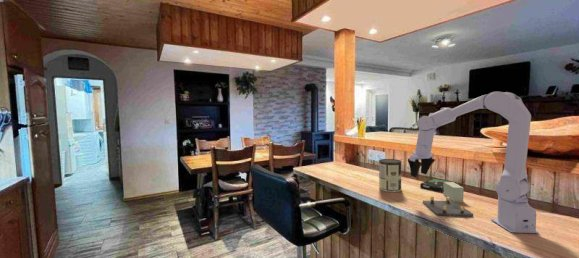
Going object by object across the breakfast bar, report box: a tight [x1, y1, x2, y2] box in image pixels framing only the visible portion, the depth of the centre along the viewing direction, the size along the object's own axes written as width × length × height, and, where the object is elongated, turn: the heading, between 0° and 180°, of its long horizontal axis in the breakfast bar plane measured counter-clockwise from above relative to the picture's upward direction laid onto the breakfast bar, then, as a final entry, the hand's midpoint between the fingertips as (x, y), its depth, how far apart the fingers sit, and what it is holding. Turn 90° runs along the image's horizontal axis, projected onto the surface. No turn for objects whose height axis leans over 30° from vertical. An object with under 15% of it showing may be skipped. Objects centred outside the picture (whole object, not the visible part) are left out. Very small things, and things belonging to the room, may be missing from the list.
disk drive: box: [419, 178, 456, 194], centre depth 125 cm, size 10×3×15 cm
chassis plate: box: [422, 196, 474, 218], centre depth 97 cm, size 13×12×3 cm
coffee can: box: [378, 158, 402, 193], centre depth 123 cm, size 10×10×14 cm
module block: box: [443, 181, 464, 203], centre depth 109 cm, size 4×8×6 cm, turn 174°
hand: (418, 174), depth 109 cm, fingers open, 7 cm apart
